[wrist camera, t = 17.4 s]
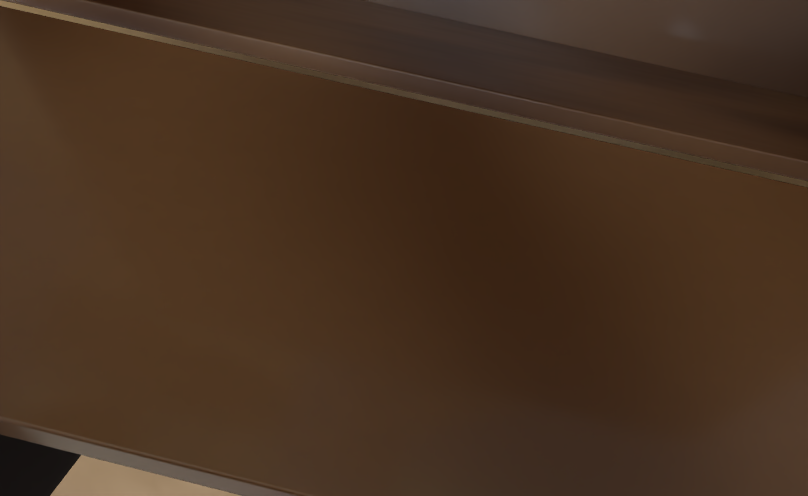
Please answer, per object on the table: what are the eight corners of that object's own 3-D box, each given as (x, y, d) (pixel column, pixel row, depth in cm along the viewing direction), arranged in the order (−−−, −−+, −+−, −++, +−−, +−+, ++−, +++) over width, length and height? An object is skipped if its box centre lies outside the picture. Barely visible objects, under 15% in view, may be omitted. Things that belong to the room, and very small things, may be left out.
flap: (1484, 793, 5) (1440, 800, 5) (1075, 246, 10) (1058, 261, 10) (-534, 285, 6) (-507, 308, 6) (-56, -8, 10) (-51, 11, 11)
